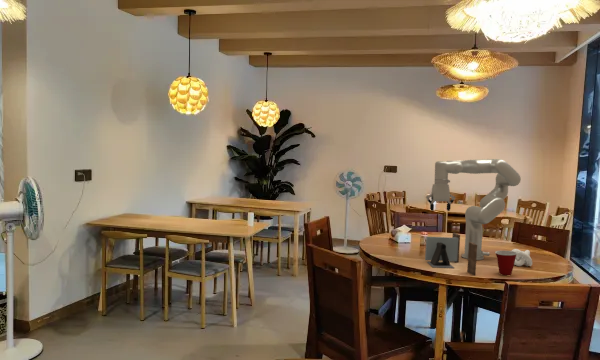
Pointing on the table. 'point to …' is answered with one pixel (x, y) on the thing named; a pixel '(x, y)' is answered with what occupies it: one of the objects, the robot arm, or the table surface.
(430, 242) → the grey flat panel
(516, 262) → the white knot sculpture
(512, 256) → the plastic cup
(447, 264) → the black a-shaped stand
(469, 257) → the frame
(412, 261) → the table surface
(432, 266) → the mat
